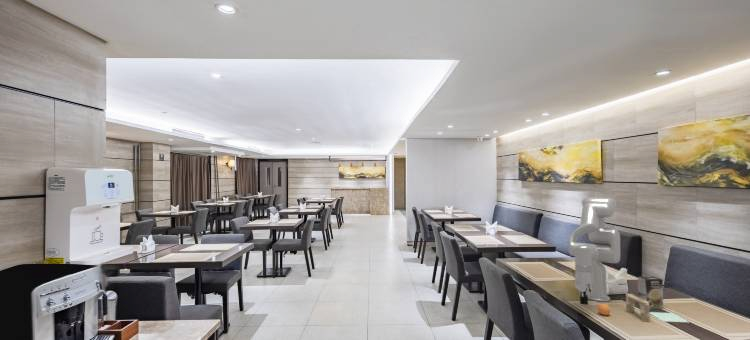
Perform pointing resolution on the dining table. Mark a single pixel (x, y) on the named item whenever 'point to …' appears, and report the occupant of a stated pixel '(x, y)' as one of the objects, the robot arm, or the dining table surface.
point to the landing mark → (668, 317)
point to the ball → (604, 309)
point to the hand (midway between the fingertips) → (584, 304)
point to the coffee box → (651, 291)
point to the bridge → (643, 306)
